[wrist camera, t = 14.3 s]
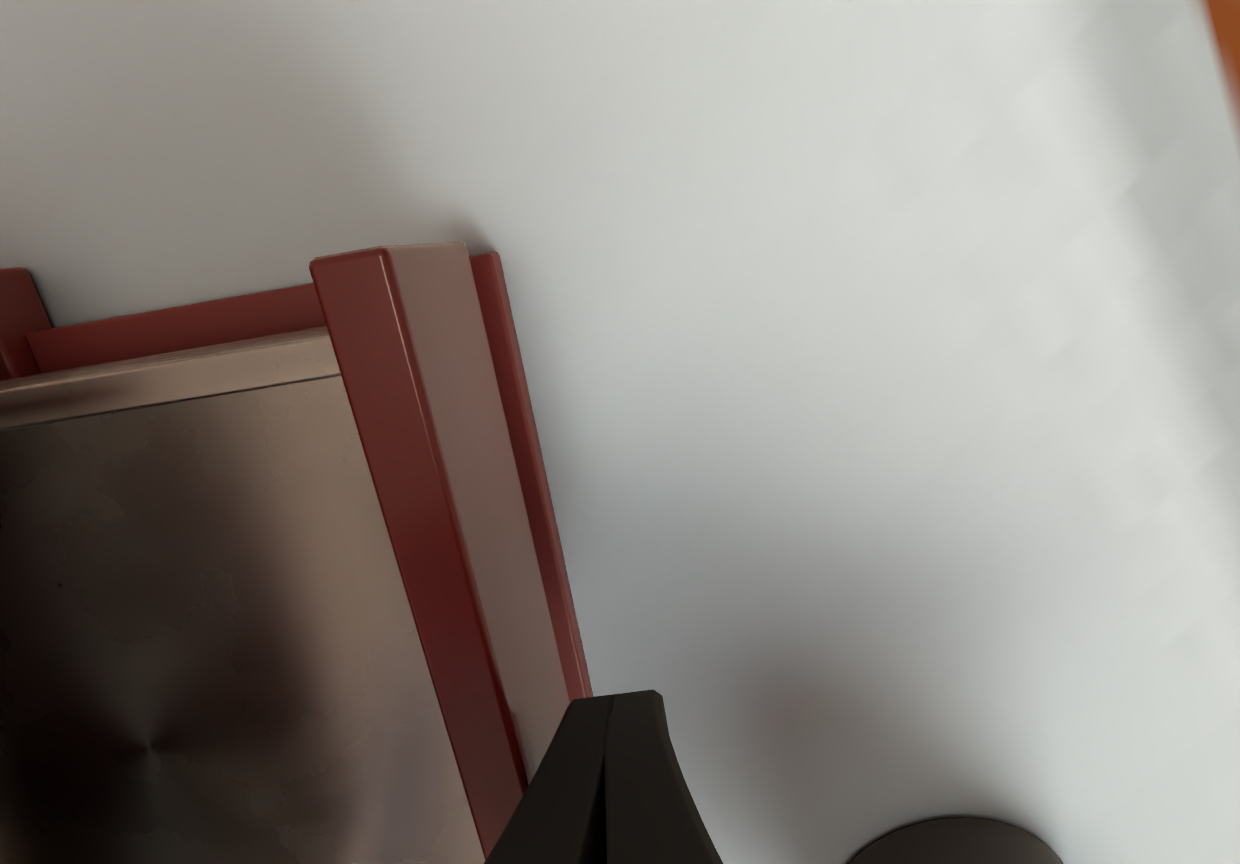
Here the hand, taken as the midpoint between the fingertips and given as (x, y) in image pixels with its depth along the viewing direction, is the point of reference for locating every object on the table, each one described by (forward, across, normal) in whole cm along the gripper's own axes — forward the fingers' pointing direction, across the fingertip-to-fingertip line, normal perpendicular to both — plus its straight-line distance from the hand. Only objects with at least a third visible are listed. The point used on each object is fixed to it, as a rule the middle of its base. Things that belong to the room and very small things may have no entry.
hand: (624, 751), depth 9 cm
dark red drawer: (+2, +8, 0) cm, 8 cm away
